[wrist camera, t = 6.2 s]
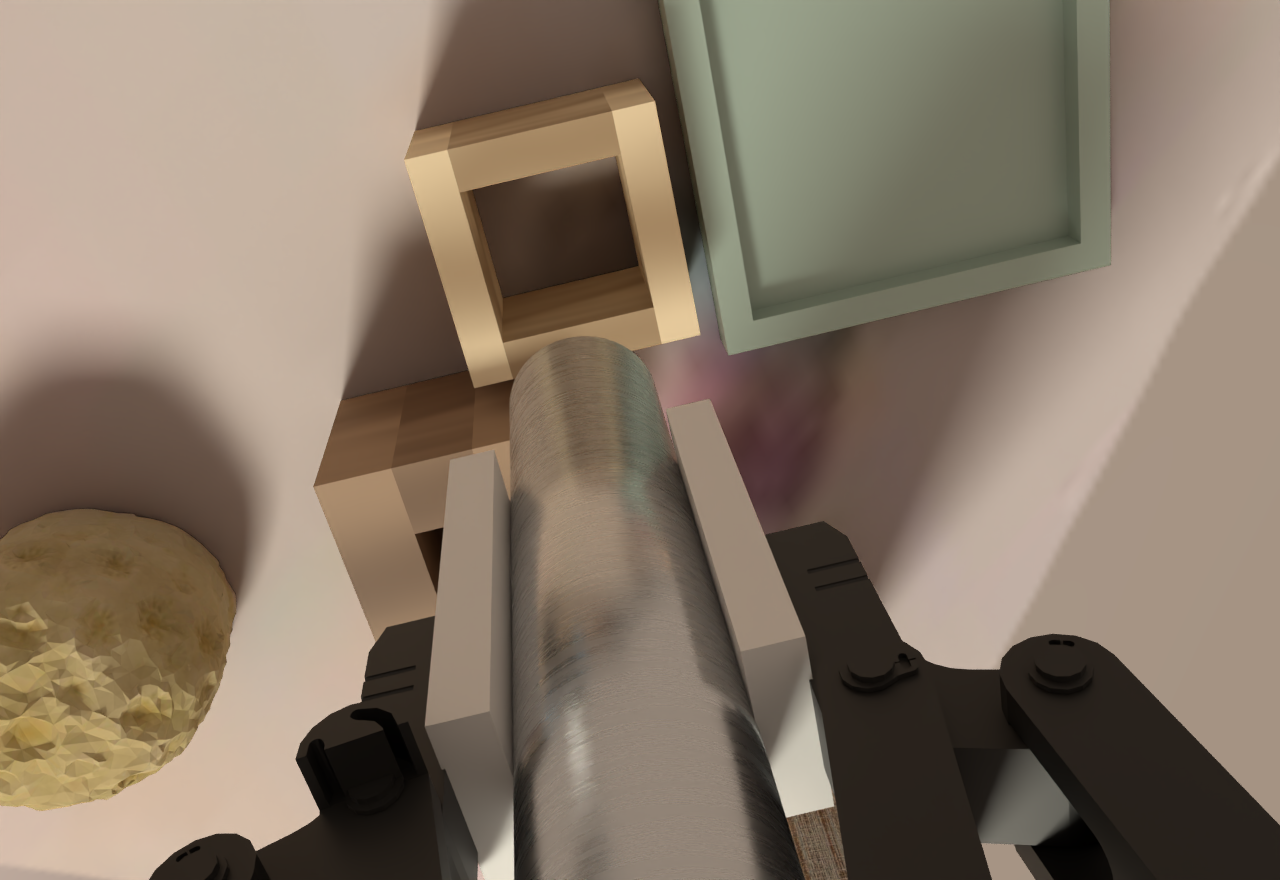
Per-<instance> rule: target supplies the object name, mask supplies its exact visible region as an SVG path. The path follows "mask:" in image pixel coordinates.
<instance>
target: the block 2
mask: <svg viewBox="0 0 1280 880" xmlns="http://www.w3.org/2000/svg"><path fill="white" fill-rule="evenodd" d="M613 156H615V157H616V162H617V166H618V171H619V176H620V180H621V185H622V190H623V194H624V199H625V203H626V208H627V213H628V217H629V222H630V227H631V231H632V236H633V240H634V245H635V250H636V254H637V259H638V263H639V266H637V267H633V268H629V269H624V270H620V271H616V272H612V273H607V274H603V275H599V276H595V277H591V278H586V279H582V280H578V281H574V282H569V283H565V284H561V285H557V286H552V287H548V288H544V289H540V290H535V291H531V292H527V293H523V294H519V295H514V296H510V297H506V298H503V297H502V294H501V290H500V286H499V283H498V279H497V276H496V272H495V269H494V265H493V262H492V258H491V254H490V251H489V247H488V244H487V240H486V237H485V233H484V230H483V226H482V222H481V219H480V215H479V212H478V208H477V205H476V201H475V198H474V194H473V189H477V188H481V187H486V186H490V185H494V184H498V183H503V182H507V181H511V180H515V179H520V178H524V177H528V176H532V175H537V174H541V173H545V172H549V171H554V170H558V169H562V168H566V167H571V166H575V165H579V164H583V163H588V162H592V161H596V160H600V159H605V158H609V157H613ZM404 161H405V164H406V168H407V171H408V174H409V177H410V181H411V184H412V187H413V190H414V194H415V197H416V200H417V203H418V207H419V210H420V213H421V216H422V220H423V223H424V226H425V229H426V233H427V236H428V239H429V242H430V246H431V249H432V252H433V255H434V259H435V262H436V265H437V268H438V272H439V275H440V278H441V282H442V285H443V288H444V291H445V295H446V298H447V301H448V304H449V308H450V311H451V314H452V317H453V321H454V324H455V327H456V330H457V334H458V337H459V340H460V343H461V347H462V350H463V353H464V356H465V360H466V363H467V366H468V369H469V373H470V376H471V379H472V382H473V386H474V388H478V387H482V386H486V385H490V384H495V383H499V382H503V381H507V380H512V379H515V378H516V376H517V375H518V373H519V371H520V369H521V368H522V367H523V365H524V364H525V363H526V362H527V361H528V360H529V359H530V358H531V357H532V356H533V355H534V354H535V353H537V352H538V351H539V350H541V349H542V348H544V347H546V346H547V345H549V344H551V343H554V342H556V341H559V340H562V339H565V338H570V337H576V336H594V337H600V338H605V339H608V340H611V341H614V342H617V343H619V344H621V345H623V346H625V347H626V348H628V349H629V350H631V351H634V350H638V349H643V348H647V347H651V346H655V345H660V344H664V343H668V342H672V341H676V340H681V339H685V338H689V337H693V336H698V335H700V330H699V325H698V320H697V315H696V310H695V304H694V299H693V294H692V289H691V284H690V279H689V274H688V269H687V263H686V258H685V253H684V248H683V243H682V238H681V233H680V227H679V222H678V217H677V212H676V207H675V202H674V197H673V192H672V186H671V181H670V176H669V171H668V166H667V161H666V156H665V150H664V145H663V140H662V135H661V130H660V125H659V120H658V115H657V109H656V104H655V101H654V99H653V98H652V96H651V95H650V93H649V92H648V91H647V89H646V88H645V86H644V85H643V84H642V82H641V81H640V79H639V78H638V79H634V80H630V81H626V82H621V83H617V84H613V85H609V86H604V87H600V88H596V89H592V90H587V91H583V92H579V93H575V94H570V95H566V96H562V97H558V98H553V99H549V100H545V101H541V102H536V103H532V104H528V105H524V106H519V107H515V108H511V109H507V110H502V111H498V112H494V113H490V114H485V115H481V116H477V117H473V118H468V119H464V120H460V121H456V122H451V123H447V124H443V125H439V126H434V127H430V128H426V129H422V130H417V131H415V132H414V135H413V137H412V140H411V143H410V146H409V148H408V151H407V154H406V156H405V159H404Z"/></svg>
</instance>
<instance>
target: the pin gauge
mask: <svg viewBox="0 0 1280 880" xmlns="http://www.w3.org/2000/svg"><path fill="white" fill-rule="evenodd" d="M509 415H510V516H511V616H512V716H513V817H514V880H805V878H804V875H803V871H802V868H801V865H800V862H799V858H798V855H797V852H796V848H795V845H794V842H793V839H792V835H791V832H790V829H789V825H788V822H787V819H786V815H785V812H784V809H783V806H782V802H781V799H780V796H779V792H778V789H777V786H776V783H775V779H774V776H773V773H772V769H771V766H770V763H769V759H768V756H767V753H766V750H765V746H764V743H763V740H762V736H761V733H760V730H759V728H758V726H757V724H756V722H755V719H754V716H753V712H752V709H751V706H750V702H749V699H748V696H747V692H746V689H745V686H744V683H743V679H742V676H741V673H740V669H739V666H738V663H737V659H736V656H735V653H734V649H733V646H732V643H731V639H730V636H729V633H728V629H727V626H726V623H725V619H724V616H723V613H722V609H721V606H720V603H719V599H718V596H717V593H716V589H715V586H714V583H713V580H712V576H711V573H710V570H709V566H708V563H707V560H706V556H705V553H704V550H703V546H702V543H701V540H700V536H699V533H698V530H697V526H696V523H695V520H694V516H693V513H692V510H691V506H690V503H689V500H688V496H687V493H686V490H685V486H684V483H683V480H682V477H681V473H680V470H679V467H678V463H677V458H676V454H675V450H674V447H673V443H672V440H671V437H670V433H669V430H668V427H667V424H666V420H665V417H664V414H663V410H662V407H661V404H660V400H659V397H658V394H657V391H656V387H655V384H654V381H653V378H652V376H651V374H650V372H649V370H648V369H647V367H646V366H645V364H644V363H643V362H642V361H641V359H640V358H639V357H638V356H637V355H635V354H634V353H633V352H632V351H631V350H629V349H628V348H626V347H625V346H623V345H621V344H619V343H617V342H614V341H611V340H608V339H605V338H600V337H594V336H576V337H570V338H565V339H562V340H559V341H556V342H554V343H551V344H549V345H547V346H546V347H544V348H542V349H541V350H539V351H538V352H537V353H535V354H534V355H533V356H532V357H531V358H530V359H529V360H528V361H527V362H526V363H525V364H524V365H523V367H522V368H521V369H520V371H519V373H518V375H517V376H516V378H515V381H514V383H513V386H512V390H511V394H510V403H509Z"/></svg>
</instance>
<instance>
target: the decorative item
mask: <svg viewBox="0 0 1280 880" xmlns="http://www.w3.org/2000/svg"><path fill="white" fill-rule="evenodd" d="M235 614H236V597H235V593H234V591H233V589H232V588H231V586H230V585H229V583H228V582H227V580H226V577H225V574H224V572H223V571H222V570H221V569H220V567H219V561H218V560H217V559H216V558H215V557H214V556H213V555H212V554H211V553H210V552H209V551H208V550H207V549H206V548H205V547H204V546H203V545H202V544H201V543H199V542H198V541H197V540H195V539H194V538H193V537H192V536H190V535H189V534H187V533H186V532H184V531H183V530H181V529H180V528H178V527H175V526H173V525H170V524H168V523H165V522H163V521H158V520H154V519H150V518H144V517H138V516H135V514H126V513H115V512H109V511H103V510H97V509H73V510H65V511H59V512H54V513H48V514H44V515H43V516H42V517H39V518H36V519H34V520H31V521H28V522H26V523H23V524H20V525H18V526H16V527H14V528H12V529H11V530H9V531H8V533H7V534H6V535H5V536H4V537H3V538H2V539H1V540H0V805H1V806H14V807H18V806H26V807H29V808H33V809H35V810H39V811H44V810H50V809H56V808H62V807H68V806H71V805H75V804H79V803H85V802H92V801H94V800H96V799H104V800H107V799H109V798H111V797H113V796H114V795H116V794H118V793H119V792H120V791H122V790H123V789H124V788H126V787H128V786H130V785H133V784H136V783H138V782H140V781H141V780H143V779H144V778H146V777H147V776H149V775H152V774H154V773H156V772H157V771H159V770H160V769H161V768H162V767H163V766H164V765H165V764H167V763H168V762H170V761H172V759H173V758H174V757H176V756H178V755H180V754H181V753H182V752H183V751H184V749H185V748H186V747H187V745H188V744H189V743H190V741H191V739H192V737H193V736H194V734H195V732H196V730H197V728H198V725H199V724H200V723H201V722H203V721H204V718H205V716H206V714H207V712H208V711H209V710H210V706H211V703H212V701H213V698H214V696H215V694H216V692H217V690H218V688H219V686H220V681H221V679H222V676H223V670H224V667H225V665H226V663H227V660H226V654H227V652H228V649H229V647H230V633H231V631H232V622H233V619H234V616H235Z"/></svg>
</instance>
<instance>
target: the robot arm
mask: <svg viewBox="0 0 1280 880" xmlns="http://www.w3.org/2000/svg"><path fill="white" fill-rule="evenodd" d="M666 412H667V417H668V422H669V426H670V431H671V435H672V440H673V444H674V449H675V454H676V458H677V463H678V467H679V470H680V473H681V477H682V480H683V483H684V486H685V490H686V493H687V496H688V500H689V503H690V506H691V510H692V513H693V516H694V520H695V523H696V526H697V530H698V533H699V536H700V540H701V543H702V546H703V550H704V553H705V556H706V560H707V563H708V566H709V570H710V573H711V576H712V580H713V583H714V586H715V589H716V593H717V596H718V599H719V603H720V606H721V609H722V613H723V616H724V619H725V623H726V626H727V629H728V633H729V636H730V639H731V643H732V646H733V649H734V653H735V656H736V659H737V663H738V666H739V669H740V673H741V676H742V679H743V683H744V686H745V689H746V692H747V696H748V699H749V702H750V706H751V709H752V712H753V716H754V719H755V722H756V724H757V726H758V728H759V730H760V733H761V736H762V740H763V743H764V746H765V750H766V753H767V756H768V759H769V763H770V766H771V769H772V773H773V776H774V779H775V783H776V786H777V789H778V792H779V796H780V799H781V802H782V806H783V809H784V812H785V815H786V818H787V817H791V816H795V815H800V814H804V813H808V812H812V811H816V810H821V809H825V808H829V807H833V806H834V802H833V796H832V791H833V794H834V796H835V800H836V806H837V813H838V819H839V825H840V832H841V838H842V844H843V851H844V857H845V864H846V870H847V876H848V880H992V878H991V875H990V872H989V868H988V865H987V861H986V858H985V855H984V851H983V848H982V845H981V843H994V844H1014V845H1015V848H1016V851H1017V852H1018V854H1019V855H1020V857H1021V858H1022V860H1023V861H1024V863H1025V864H1026V866H1027V867H1028V869H1029V870H1030V872H1031V873H1032V875H1033V876H1034V878H1035V879H1036V880H1280V825H1279V824H1278V823H1277V822H1276V821H1275V820H1274V819H1273V818H1272V817H1271V816H1270V815H1269V814H1268V813H1267V812H1266V811H1265V810H1264V809H1263V808H1262V807H1261V805H1260V804H1259V803H1258V802H1257V801H1256V800H1255V799H1254V798H1253V797H1252V796H1251V795H1250V794H1249V793H1248V792H1247V791H1246V790H1245V789H1244V788H1243V787H1242V786H1241V785H1240V784H1239V783H1238V782H1237V781H1236V780H1235V779H1234V778H1233V777H1232V776H1231V775H1230V774H1229V772H1227V770H1226V769H1225V768H1224V767H1223V766H1222V765H1221V764H1220V763H1219V762H1218V761H1217V760H1216V759H1215V758H1214V757H1213V756H1212V755H1211V754H1210V753H1209V752H1208V751H1207V750H1206V749H1205V748H1204V747H1203V746H1202V745H1201V744H1200V743H1199V742H1198V741H1197V740H1196V738H1195V737H1194V736H1193V735H1192V734H1191V733H1190V732H1189V731H1188V730H1187V729H1186V728H1185V727H1184V726H1183V725H1182V724H1181V723H1180V722H1179V721H1178V720H1177V719H1176V718H1175V717H1174V716H1173V715H1172V714H1171V713H1170V712H1169V711H1168V710H1167V709H1166V708H1165V707H1164V706H1163V705H1162V704H1161V702H1159V700H1158V699H1157V698H1156V697H1155V696H1154V695H1153V694H1152V693H1151V692H1150V691H1149V690H1148V689H1147V688H1146V687H1145V686H1144V685H1143V684H1142V683H1141V682H1140V681H1139V680H1138V679H1137V678H1136V677H1135V676H1134V675H1133V674H1132V673H1131V672H1130V670H1129V669H1128V668H1127V667H1126V666H1125V665H1124V664H1123V663H1122V662H1121V661H1120V660H1119V659H1118V658H1117V657H1116V656H1115V655H1114V654H1112V653H1111V652H1109V651H1108V650H1107V649H1105V648H1104V647H1102V646H1101V645H1099V644H1098V643H1096V642H1093V641H1090V640H1087V639H1084V638H1081V637H1078V636H1073V635H1060V634H1049V635H1043V636H1037V637H1031V638H1028V639H1026V640H1024V641H1022V642H1020V643H1018V644H1016V645H1014V646H1012V648H1011V649H1010V650H1009V651H1008V652H1007V653H1006V654H1005V656H1004V657H1003V658H1002V661H1001V667H1000V670H967V669H954V668H948V667H944V666H940V665H936V664H933V663H931V662H928V661H926V660H925V659H924V658H923V656H922V654H921V653H920V652H919V651H918V650H916V649H915V648H913V647H911V646H910V645H908V644H907V643H905V642H903V641H902V640H901V638H900V636H899V634H898V632H897V630H896V628H895V627H894V625H893V623H892V621H891V619H890V617H889V615H888V613H887V611H886V609H885V608H884V606H883V604H882V602H881V600H880V598H879V596H878V594H877V592H876V591H875V589H874V587H873V585H872V583H871V581H870V579H868V577H867V574H866V572H865V570H864V568H863V566H862V564H861V562H859V560H858V556H857V555H856V553H855V551H854V549H853V547H852V545H851V543H850V541H849V539H848V538H847V536H845V535H844V534H842V533H841V532H839V531H838V530H836V529H835V528H833V527H831V526H830V525H828V524H827V523H825V522H824V521H822V522H818V523H814V524H810V525H805V526H801V527H797V528H793V529H788V530H784V531H780V532H776V533H772V534H767V535H765V534H764V532H763V530H762V527H761V525H760V522H759V520H758V517H757V515H756V512H755V510H754V507H753V505H752V502H751V500H750V497H749V495H748V492H747V490H746V487H745V485H744V482H743V480H742V477H741V475H740V472H739V470H738V467H737V465H736V462H735V460H734V457H733V455H732V452H731V450H730V447H729V445H728V443H727V440H726V438H725V435H724V433H723V430H722V428H721V425H720V423H719V420H718V418H717V415H716V413H715V410H714V408H713V405H712V403H711V400H710V399H706V400H702V401H697V402H693V403H689V404H685V405H681V406H676V407H672V408H668V409H666ZM361 699H362V702H360V703H357V704H352V705H349V706H347V707H345V708H343V709H341V710H339V711H336V712H334V713H332V714H330V715H329V716H327V717H326V718H325V719H323V720H322V721H321V722H319V723H318V724H317V725H316V726H314V727H313V728H312V729H311V730H310V732H309V733H308V734H307V736H306V737H305V738H304V739H303V741H302V742H301V743H300V746H299V749H298V753H297V756H296V762H297V764H298V766H299V768H300V770H301V772H302V774H303V776H304V778H305V781H306V783H307V785H308V787H309V789H310V791H311V793H312V795H313V797H314V800H315V802H316V804H317V806H318V808H319V810H320V815H319V816H318V817H317V818H316V819H314V820H313V821H312V822H311V823H309V824H308V825H306V826H304V827H302V828H301V829H299V830H297V831H296V832H294V833H292V834H290V835H288V836H286V837H284V838H282V839H280V840H278V841H276V842H274V843H272V844H270V845H268V846H266V847H264V848H262V849H260V850H258V851H255V849H254V847H253V845H252V843H251V842H250V840H248V839H246V838H244V837H242V836H240V835H238V834H215V835H211V836H208V837H205V838H202V839H199V840H195V841H194V842H192V843H190V844H189V845H187V846H185V847H183V848H182V849H180V850H178V851H177V852H175V853H173V854H172V855H171V856H170V857H169V858H168V859H167V860H166V861H165V862H164V863H163V864H161V865H160V866H159V867H158V868H157V869H156V870H155V871H154V873H153V874H152V876H151V878H150V879H149V880H477V871H478V864H479V866H480V869H481V871H482V874H483V876H484V879H485V880H514V817H513V716H512V616H511V516H510V500H509V496H508V493H507V490H506V487H505V483H504V480H503V477H502V473H501V470H500V467H499V464H498V460H497V457H496V454H495V451H494V450H490V451H486V452H482V453H477V454H473V455H469V456H465V457H460V458H456V459H452V460H450V465H449V476H448V486H447V497H446V508H445V518H444V529H443V539H442V550H441V560H440V571H439V581H438V592H437V602H436V613H435V616H432V617H427V618H423V619H419V620H415V621H410V622H406V623H402V624H398V625H394V626H389V627H386V629H385V630H384V632H383V633H382V635H381V636H380V637H379V639H378V640H377V642H376V643H375V645H374V646H373V647H372V649H371V650H370V652H369V655H368V661H367V666H366V672H365V682H364V683H363V689H362V695H361ZM831 788H832V790H831Z"/></svg>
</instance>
